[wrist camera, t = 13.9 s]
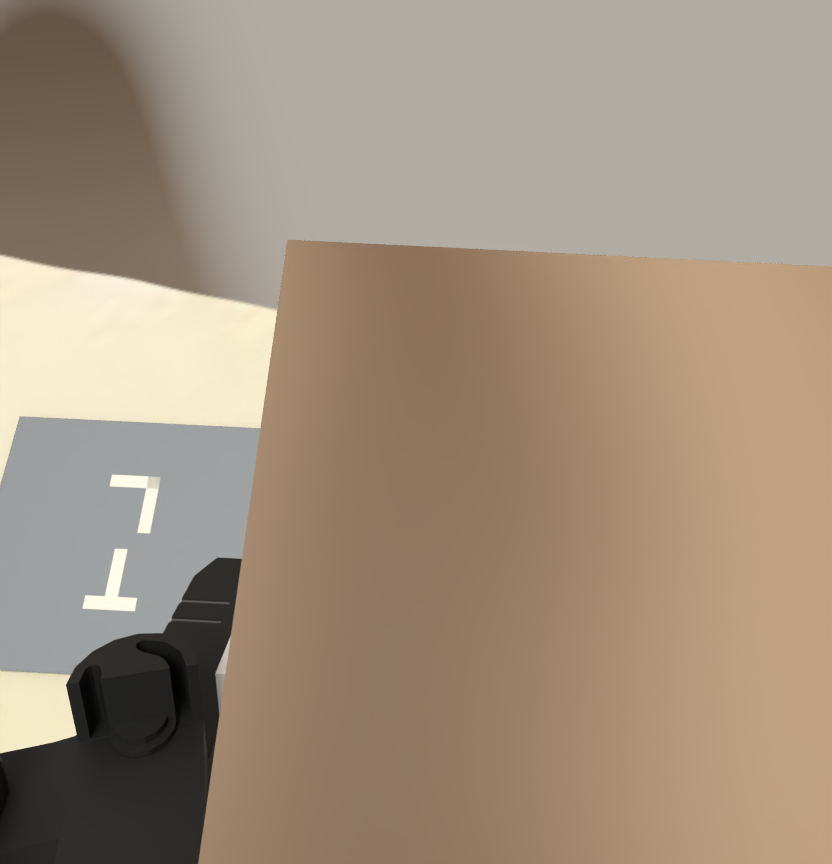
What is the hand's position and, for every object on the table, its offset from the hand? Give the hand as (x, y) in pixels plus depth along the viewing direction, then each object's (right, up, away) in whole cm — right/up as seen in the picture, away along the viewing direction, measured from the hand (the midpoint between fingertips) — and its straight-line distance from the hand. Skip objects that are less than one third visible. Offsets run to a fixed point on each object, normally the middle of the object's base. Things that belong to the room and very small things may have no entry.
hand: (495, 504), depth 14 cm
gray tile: (-15, -4, +18) cm, 24 cm away
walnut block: (0, -4, +2) cm, 5 cm away
